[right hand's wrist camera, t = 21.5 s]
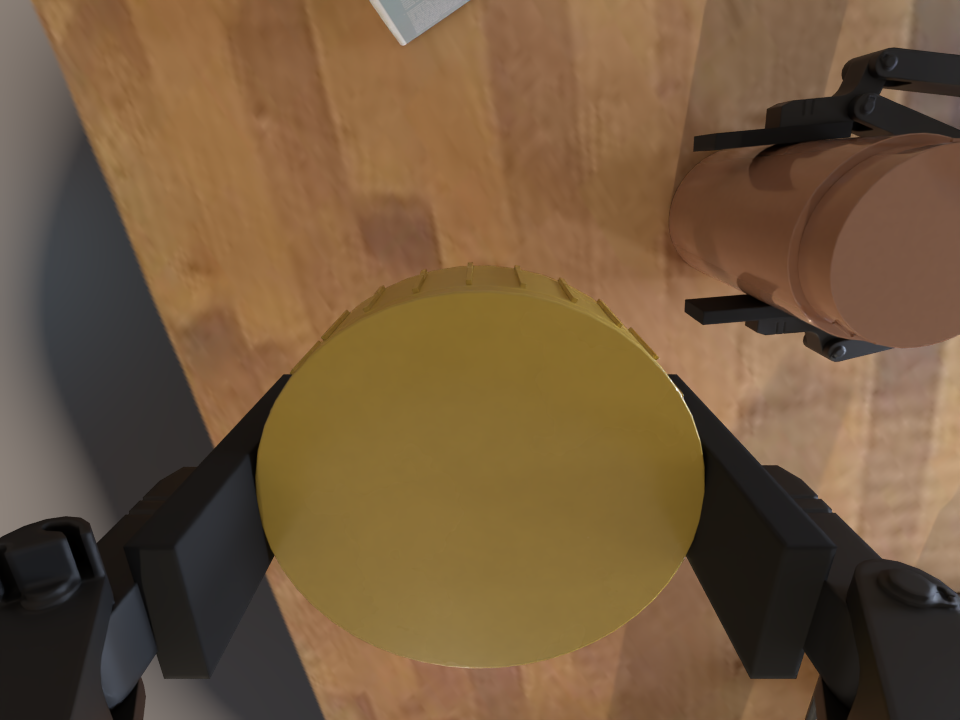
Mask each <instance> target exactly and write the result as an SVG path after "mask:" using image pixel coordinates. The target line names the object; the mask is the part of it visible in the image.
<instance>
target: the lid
mask: <svg viewBox="0 0 960 720" xmlns="http://www.w3.org/2000/svg"><path fill="white" fill-rule="evenodd" d="M321 338H322V339H323V341H322V342H320V341H318V342H317V343H316V344H315V345H314V346H313V347H312V348H311V349H310V351H309V352H308V353H307V354H306V355H305V356H304V357H303V358H302V359H301V360H300V361H299V363H298V364H297V365H296V366H295V367H294V368H293V369H292V370H291V372H290V374H291V375H292V376H291V377H290V379H289V380H288V382H287V383H286V385H285V386H284V388H283V390H282V391H281V393H280V394H279V396H278V397H277V399H276V400H275V403H274V405H273V407H272V408H271V411H270V414H269V416H268V418H267V421H266V423H265V425H264V429H263V433H262V436H261V440H260V444H259V448H258V453H257V463H256V473H255V480H256V496H257V502H258V507H259V512H260V517H261V523H262V527H263V529H264V532H265V535H266V537H267V540H268V543H269V545H270V548H271V550H272V552H273V553H274V555H275V557H276V559H277V561H278V562H279V564H280V566H281V568H282V570H283V571H284V572H285V574H286V575H287V576H288V578H289V579H290V580H291V582H292V583H293V584H294V586H295V587H296V589H297V590H298V591H299V592H300V593H301V594H302V595H303V596H304V597H305V598H306V599H307V600H308V601H309V602H310V603H311V604H312V605H313V606H314V607H315V608H316V609H317V610H319V611H320V612H321V613H322V614H323V615H325V616H326V617H327V618H328V619H329V620H331V621H332V622H333V623H335V624H336V625H338V626H339V627H341V628H343V629H344V630H346V631H347V632H349V633H350V634H352V635H353V636H355V637H357V638H359V639H361V640H363V641H365V642H367V643H369V644H371V645H373V646H375V647H378V648H380V649H383V650H385V651H388V652H391V653H393V654H396V655H399V656H402V657H406V658H410V659H413V660H417V661H420V662H425V663H431V664H437V665H442V666H449V667H462V668H500V667H509V666H518V665H525V664H530V663H534V662H539V661H544V660H548V659H551V658H555V657H558V656H561V655H564V654H567V653H570V652H573V651H575V650H578V649H580V648H582V647H585V646H587V645H589V644H592V643H594V642H596V641H597V640H599V639H601V638H603V637H605V636H606V635H608V634H610V633H612V632H614V631H615V630H617V629H618V628H620V627H621V626H622V625H624V624H625V623H627V622H628V621H629V620H631V619H632V618H634V617H635V616H636V615H637V614H638V613H640V612H641V611H642V610H643V609H644V608H645V607H646V606H647V605H648V604H650V603H651V602H652V601H653V600H654V599H655V598H656V596H657V595H658V594H659V593H660V592H661V591H662V590H663V588H664V587H665V586H666V585H667V584H668V583H669V582H670V580H671V579H672V577H673V576H674V574H675V573H676V571H677V570H678V568H679V567H680V565H681V564H682V562H683V560H684V558H685V556H686V554H687V552H688V550H689V548H690V546H691V544H692V542H693V539H694V536H695V533H696V530H697V527H698V524H699V520H700V515H701V509H702V504H703V498H704V493H705V465H704V459H703V453H702V447H701V441H700V438H699V435H698V432H697V429H696V426H695V422H694V419H693V416H692V414H691V412H690V410H689V408H688V407H687V405H686V403H685V401H684V399H683V396H684V395H683V393H682V392H681V391H680V389H679V388H678V387H677V386H676V385H675V384H674V383H673V382H672V380H671V379H670V378H669V376H668V375H667V373H666V372H665V371H664V369H663V368H662V367H661V366H660V365H659V364H658V363H657V361H656V360H657V359H658V358H659V357H658V356H657V355H656V354H655V352H654V351H653V350H652V349H651V348H650V347H649V346H648V345H647V344H646V343H645V342H644V341H643V339H642V338H641V337H640V336H639V335H638V334H637V333H636V332H635V331H634V330H633V329H632V328H629V329H627V328H626V327H625V326H624V325H623V324H622V323H621V321H620V320H619V319H618V318H617V317H616V316H615V315H614V314H613V312H612V311H611V310H610V309H609V308H608V307H607V306H606V305H605V303H604V302H603V301H602V300H600V299H598V301H597V302H596V301H595V300H594V299H592V298H591V297H589V296H587V295H586V294H584V293H582V292H580V291H578V290H577V289H575V288H573V287H571V286H570V285H568V284H567V283H566V282H565V280H564V279H562V278H559V280H558V281H557V280H555V279H552V278H550V277H547V276H544V275H541V274H537V273H533V272H529V271H525V270H521V268H520V266H517V265H515V267H514V268H507V267H498V266H473V262H471V263H468V266H459V267H453V268H447V269H440V270H434V271H430V272H427V269H425V270H422V271H421V273H420V275H417V276H414V277H410V278H407V279H405V280H403V281H400V282H398V283H396V284H394V285H392V286H389V287H387V288H385V287H384V286H381V287H380V288H379V289H378V290H377V291H376V292H375V294H374V295H373V296H372V297H370V298H368V299H367V300H365V301H364V302H362V303H361V304H359V305H358V306H357V307H356V308H355V309H354V310H352V311H351V312H349V311H348V310H346V311H345V312H344V313H343V314H342V315H341V316H340V317H339V318H338V319H337V320H336V322H335V323H334V324H333V325H332V326H331V327H330V328H329V329H328V330H327V331H326V332H325V334H324V335H323V336H322V337H321Z"/></svg>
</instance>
